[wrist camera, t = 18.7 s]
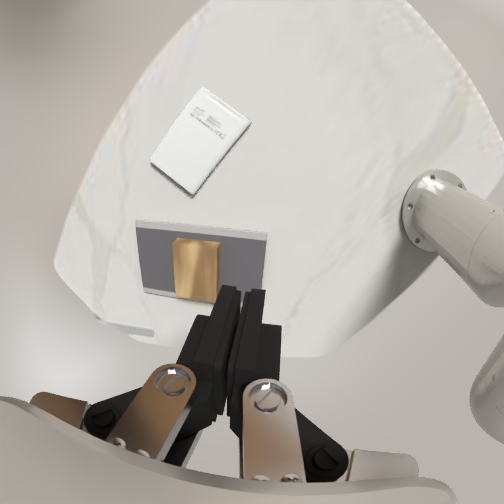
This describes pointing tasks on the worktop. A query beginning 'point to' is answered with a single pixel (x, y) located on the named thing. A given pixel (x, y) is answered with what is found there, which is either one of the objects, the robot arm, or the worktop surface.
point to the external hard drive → (199, 140)
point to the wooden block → (196, 269)
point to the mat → (231, 240)
